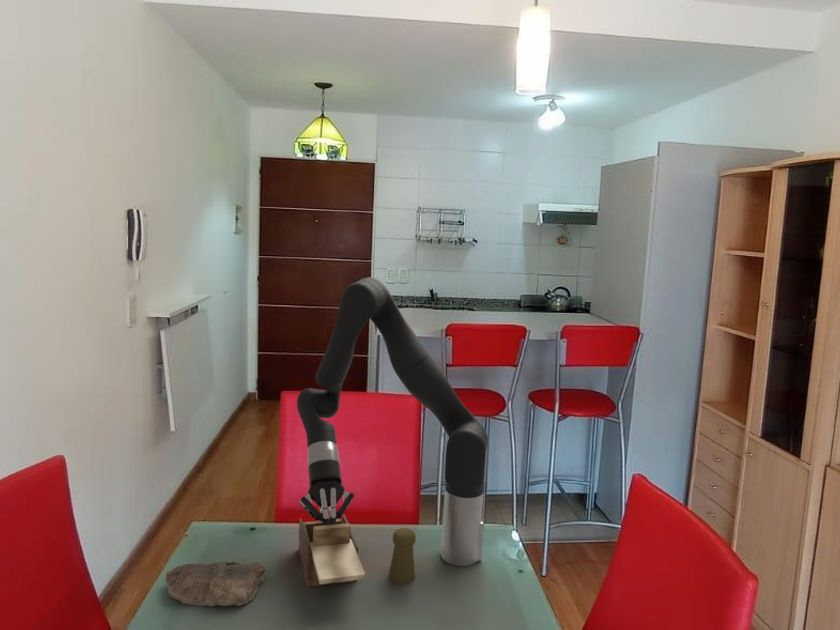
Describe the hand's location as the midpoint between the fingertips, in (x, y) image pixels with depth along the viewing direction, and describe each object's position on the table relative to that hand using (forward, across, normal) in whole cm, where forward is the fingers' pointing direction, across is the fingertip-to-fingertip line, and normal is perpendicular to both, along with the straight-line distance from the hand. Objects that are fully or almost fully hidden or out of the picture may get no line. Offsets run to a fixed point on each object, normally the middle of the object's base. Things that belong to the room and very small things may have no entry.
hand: (330, 536), depth 145 cm
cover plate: (+7, 0, -4) cm, 8 cm away
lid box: (+4, 0, +9) cm, 9 cm away
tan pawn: (+10, +16, +3) cm, 19 cm away
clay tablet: (+7, -25, +6) cm, 27 cm away
